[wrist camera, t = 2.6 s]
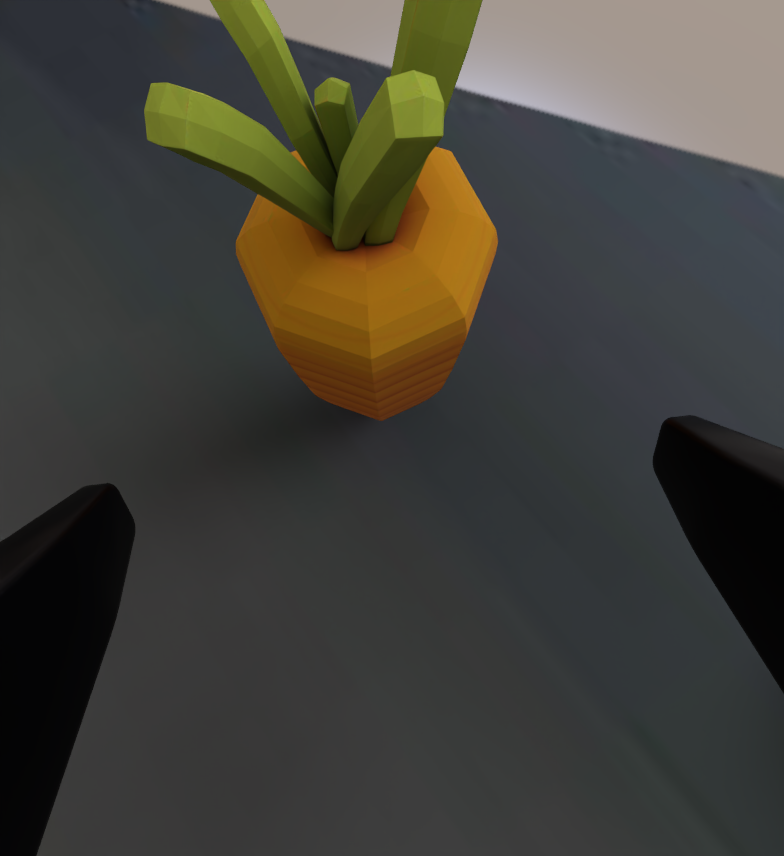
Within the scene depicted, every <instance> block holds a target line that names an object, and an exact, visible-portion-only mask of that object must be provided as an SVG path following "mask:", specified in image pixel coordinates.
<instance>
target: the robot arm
mask: <svg viewBox="0 0 784 856" xmlns="http://www.w3.org/2000/svg"><path fill="white" fill-rule="evenodd" d="M653 468H654V471H655V474H656V476H657V478H658V480H659V482H660V484H661V486H662V488H663V490H664V492H665V494H666V496H667V498H668V500H669V502H670V504H671V506H672V508H673V511H674V513H675V515H676V517H677V519H678V521H679V523H680V525H681V527H682V529H683V531H684V533H685V535H686V537H687V539H688V541H689V543H690V545H691V546H692V548H693V550H694V552H695V553H696V555H697V557H698V558H699V560H700V562H701V563H702V565H703V567H704V568H705V570H706V571H707V573H708V575H709V576H710V578H711V579H712V581H713V582H714V584H715V586H716V587H717V589H718V590H719V592H720V593H721V595H722V597H723V598H724V600H725V601H726V603H727V605H728V606H729V608H730V609H731V611H732V612H733V614H734V616H735V617H736V619H737V620H738V622H739V624H740V625H741V627H742V628H743V630H744V631H745V633H746V635H747V636H748V638H749V639H750V641H751V643H752V644H753V646H754V647H755V649H756V650H757V652H758V654H759V655H760V657H761V658H762V660H763V662H764V663H765V665H766V666H767V668H768V669H769V671H770V673H771V674H772V676H773V677H774V679H775V681H776V682H777V684H778V685H779V687H780V688H781V690H782V692H783V693H784V449H782V448H780V447H777V446H774V445H772V444H769V443H766V442H764V441H761V440H758V439H755V438H753V437H750V436H747V435H745V434H742V433H739V432H737V431H734V430H731V429H729V428H726V427H723V426H720V425H718V424H715V423H712V422H710V421H707V420H704V419H702V418H699V417H696V416H691V415H688V416H679V417H671V418H668V419H666V420H665V421H664V422H663V423H662V426H661V429H660V433H659V437H658V440H657V444H656V448H655V452H654V455H653ZM134 537H135V523H134V519H133V517H132V515H131V513H130V511H129V509H128V507H127V506H126V504H125V502H124V500H123V498H122V496H121V494H120V492H119V490H118V489H117V488H116V487H115V486H114V485H113V484H109V483H106V484H97V485H89V486H85V487H82V488H81V489H79V490H78V491H76V492H75V493H73V494H72V495H70V496H69V497H67V498H66V499H64V500H63V501H61V502H60V503H58V504H57V505H55V506H54V507H52V508H51V509H49V510H48V511H46V512H45V513H43V514H42V515H40V516H39V517H37V518H36V519H34V520H33V521H31V522H30V523H28V524H27V525H25V526H24V527H22V528H21V529H19V530H18V531H16V532H15V533H13V534H12V535H10V536H9V537H8V538H6V539H5V540H3V541H2V542H0V856H36V855H37V852H38V849H39V846H40V843H41V840H42V838H43V835H44V832H45V829H46V826H47V823H48V820H49V817H50V814H51V811H52V808H53V805H54V802H55V799H56V796H57V793H58V790H59V787H60V784H61V781H62V778H63V775H64V773H65V770H66V767H67V764H68V761H69V758H70V755H71V752H72V749H73V746H74V743H75V740H76V737H77V734H78V731H79V728H80V725H81V722H82V719H83V716H84V713H85V710H86V707H87V705H88V702H89V699H90V696H91V693H92V690H93V687H94V684H95V681H96V678H97V675H98V672H99V669H100V666H101V663H102V660H103V657H104V654H105V651H106V648H107V645H108V642H109V639H110V637H111V633H112V630H113V627H114V624H115V621H116V617H117V613H118V609H119V605H120V601H121V596H122V592H123V587H124V582H125V578H126V573H127V569H128V564H129V559H130V555H131V550H132V546H133V541H134Z"/></svg>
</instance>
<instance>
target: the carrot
mask: <svg viewBox="0 0 784 856" xmlns="http://www.w3.org/2000/svg"><path fill="white" fill-rule="evenodd" d="M210 1H211V3H212V5H213V7H214V8H215V10H216V12H217V13H218V15H219V17H220V19H221V20H222V22H223V24H224V25H225V27H226V28H227V30H228V31H229V33H230V35H231V36H232V38H233V39H234V41H235V42H236V44H237V45H238V47H239V49H240V50H241V52H242V53H243V55H244V56H245V58H246V59H247V61H248V63H249V65H250V67H251V68H252V70H253V72H254V74H255V76H256V78H257V79H258V81H259V83H260V85H261V87H262V89H263V91H264V92H265V94H266V96H267V98H268V100H269V102H270V103H271V105H272V107H273V109H274V111H275V113H276V114H277V116H278V118H279V120H280V122H281V124H282V126H283V127H284V129H285V131H286V133H287V135H288V137H289V139H290V140H291V142H292V144H293V145H294V147H295V149H296V151H294V152H291V153H290V152H289V151H288V150H287V149H286V148H285V147H284V146H283V145H282V144H281V143H280V142H279V141H278V140H277V139H276V138H275V137H274V136H273V135H272V134H271V133H270V132H269V131H268V130H267V129H266V128H265V127H264V126H263V125H261V124H259V123H258V122H256V121H254V120H253V119H251V118H249V117H247V116H246V115H244V114H242V113H241V112H239V111H237V110H236V109H234V108H232V107H231V106H229V105H227V104H225V103H224V102H221V101H219V100H217V99H214V98H212V97H210V96H208V95H205V94H203V93H199V92H196V91H193V90H190V89H186V88H183V87H180V86H177V85H173V84H170V83H151V86H150V90H149V94H148V98H147V102H146V106H145V110H144V112H145V122H146V131H147V140H148V141H151V142H153V143H155V144H158V145H160V146H162V147H164V148H167V149H169V150H171V151H173V152H176V153H178V154H180V155H182V156H184V157H186V158H188V159H190V160H192V161H194V162H197V163H199V164H202V165H204V166H207V167H209V168H212V169H214V170H217V171H219V172H221V173H223V174H225V175H226V176H228V177H230V178H231V179H233V180H235V181H237V182H238V183H240V184H242V185H243V186H245V187H247V188H249V189H250V190H252V191H254V192H255V193H257V194H258V195H257V197H256V199H255V201H254V204H253V206H252V208H251V210H250V212H249V214H248V216H247V219H246V221H245V223H244V225H243V227H242V229H241V232H240V234H239V236H238V238H237V240H236V255H237V257H238V260H239V262H240V265H241V267H242V269H243V272H244V274H245V276H246V278H247V280H248V283H249V285H250V287H251V289H252V292H253V294H254V296H255V298H256V300H257V303H258V305H259V307H260V309H261V312H262V314H263V316H264V318H265V320H266V323H267V325H268V327H269V329H270V332H271V334H272V336H273V338H274V341H275V343H276V345H277V347H278V349H279V351H280V352H281V353H282V355H283V356H284V357H285V359H286V360H287V361H288V363H289V364H290V365H291V367H292V368H293V369H294V371H295V372H296V373H297V375H298V376H299V377H300V378H301V380H302V381H303V382H304V383H305V384H306V385H307V386H308V387H309V389H310V390H311V391H312V392H313V393H314V394H315V395H316V396H318V397H319V398H321V399H323V400H325V401H327V402H329V403H331V404H334V405H337V406H340V407H343V408H345V409H348V410H351V411H354V412H357V413H360V414H363V415H365V416H368V417H371V418H374V419H377V420H380V421H383V420H385V419H387V418H389V417H392V416H394V415H396V414H398V413H400V412H402V411H405V410H407V409H409V408H411V407H413V406H415V405H418V404H420V403H422V402H423V401H425V400H427V399H429V398H430V397H432V396H433V395H434V394H436V393H437V392H438V391H439V390H441V388H442V387H443V385H444V383H445V381H446V379H447V378H448V376H449V374H450V372H451V371H452V369H453V366H454V364H455V362H456V360H457V358H458V355H459V353H460V351H461V349H462V346H463V344H464V342H465V340H466V337H467V334H468V331H469V328H470V325H471V322H472V320H473V317H474V314H475V311H476V308H477V305H478V302H479V299H480V297H481V294H482V291H483V288H484V285H485V282H486V279H487V276H488V274H489V271H490V268H491V265H492V262H493V259H494V256H495V254H496V249H497V243H498V240H497V234H496V229H495V227H494V225H493V224H492V222H491V220H490V218H489V217H488V215H487V213H486V211H485V210H484V208H483V206H482V204H481V203H480V201H479V199H478V197H477V196H476V194H475V192H474V190H473V189H472V187H471V185H470V183H469V182H468V180H467V178H466V176H465V175H464V173H463V171H462V169H461V168H460V166H459V164H458V163H457V161H456V159H455V157H454V156H453V154H452V152H451V151H448V150H445V149H442V148H438V147H435V146H436V145H437V143H438V142H439V141H440V139H441V138H442V137H443V124H444V116H445V113H446V110H447V107H448V104H449V102H450V99H451V96H452V93H453V90H454V87H455V85H456V82H457V79H458V76H459V73H460V70H461V67H462V65H463V62H464V59H465V56H466V53H467V51H468V48H469V44H470V41H471V38H472V34H473V31H474V27H475V24H476V20H477V17H478V13H479V10H480V7H481V3H482V0H405V1H404V7H403V12H402V18H401V24H400V28H399V34H398V40H397V45H396V50H395V56H394V61H393V66H392V71H391V77H388V78H386V79H385V81H384V83H383V84H382V86H381V88H380V89H379V91H378V93H377V94H376V96H375V98H374V99H373V101H372V103H371V104H370V106H369V108H368V109H367V111H366V113H365V114H364V116H363V118H362V119H361V121H360V123H359V125H358V121H357V117H356V112H355V107H354V102H353V97H352V92H351V87H350V83H347V82H344V81H342V80H339V79H337V78H328V79H327V80H326V81H324V82H323V83H322V84H321V85H320V86H319V87H317V88H316V89H315V108H316V111H317V115H318V118H319V121H320V123H319V121H318V118H317V116H316V114H315V111H314V109H313V106H312V104H311V101H310V99H309V96H308V94H307V92H306V89H305V87H304V84H303V82H302V79H301V77H300V74H299V72H298V70H297V67H296V65H295V63H294V60H293V58H292V56H291V53H290V51H289V49H288V46H287V44H286V41H285V39H284V37H283V34H282V33H281V30H280V28H279V25H278V24H277V22H276V20H275V18H274V17H273V15H272V13H271V11H270V10H269V8H268V6H267V4H266V3H265V1H264V0H210ZM320 124H321V125H320ZM321 127H322V128H321Z"/></svg>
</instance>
